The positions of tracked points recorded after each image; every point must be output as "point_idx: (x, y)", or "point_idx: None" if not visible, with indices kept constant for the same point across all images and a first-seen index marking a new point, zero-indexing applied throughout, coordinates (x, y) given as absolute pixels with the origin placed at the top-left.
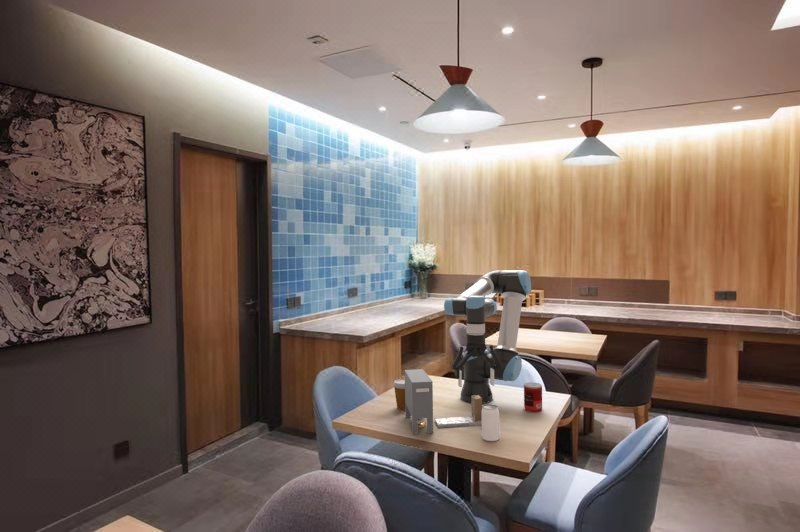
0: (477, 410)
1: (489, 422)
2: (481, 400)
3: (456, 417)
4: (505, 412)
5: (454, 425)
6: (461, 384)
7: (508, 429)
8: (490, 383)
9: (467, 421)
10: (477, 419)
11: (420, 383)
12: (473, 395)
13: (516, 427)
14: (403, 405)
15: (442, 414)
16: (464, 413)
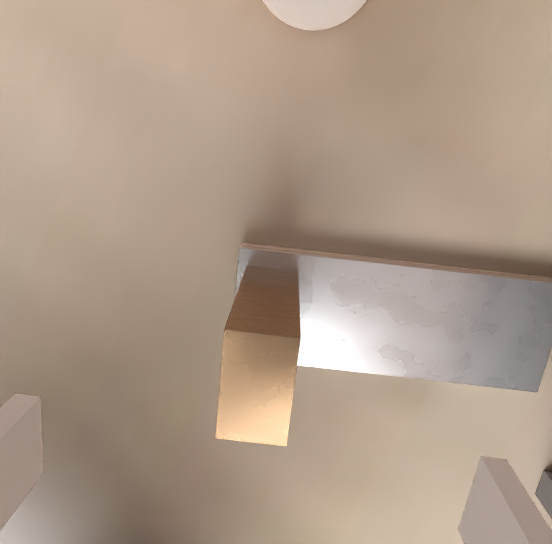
0: (278, 294)
1: None
2: (232, 323)
3: (389, 371)
4: None
5: (451, 267)
6: (499, 482)
7: (117, 105)
8: (38, 476)
9: (352, 280)
10: (281, 273)
11: None
12: (265, 443)
13: (48, 126)
14: None
15: (418, 479)
16: (281, 457)
